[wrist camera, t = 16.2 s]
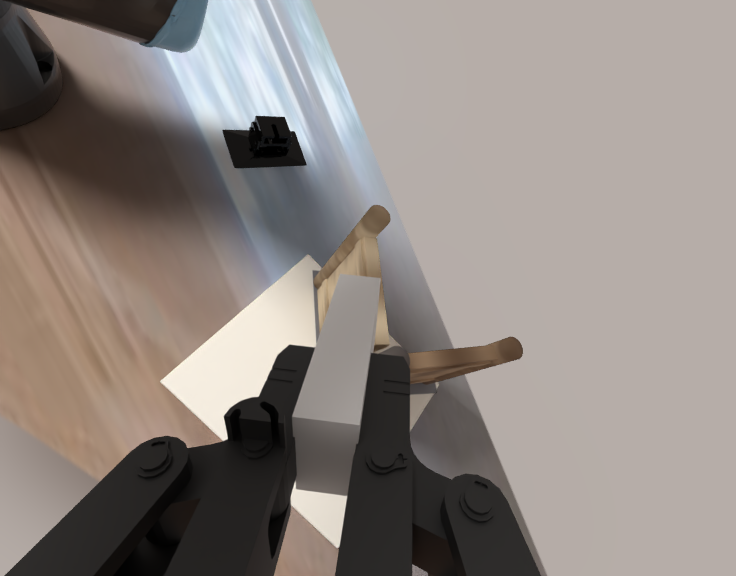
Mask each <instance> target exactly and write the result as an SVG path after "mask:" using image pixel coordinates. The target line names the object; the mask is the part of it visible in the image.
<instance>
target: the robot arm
mask: <svg viewBox="0 0 736 576" xmlns="http://www.w3.org/2000/svg"><path fill="white" fill-rule="evenodd" d="M207 4H208V0H0V130H3V129H8V128H12V127H16V126H19V125H23V124H25V123H28V122H30V121H32V120H35V119H36V118H38V117H40V116H41V115H43V114H44V113H46V112H47V111H48V110H49V109H50V108H51V107H52V106H53V105H54V104H55V103H56V101H57V100H58V98H59V96H60V93H61V90H62V84H63V79H62V73H61V69H60V66H59V62H58V59H57V56H56V53H55V51H54V49H53V47H52V45H51V43H50V41H49V40H48V38H47V37H46V35H45V34H44V33H43V31H42V30H41V28H40V27H39V26H38V24H37V23H36V22H35V20H34V19H33V17H32V16H31V15H30V13H29V12H28V11H27V9H26V8H29V9H32V10H35V11H39V12H42V13H45V14H49V15H52V16H55V17H58V18H62V19H65V20H68V21H72V22H75V23H78V24H81V25H84V26H88V27H91V28H94V29H97V30H100V31H103V32H106V33H109V34H113V35H116V36H119V37H122V38H125V39H128V40H131V41H134V42H138V43H139V44H140V45H143V46H145V47H158V48H162V49H166V50H170V51H174V52H179V53H182V52H187V51H189V50H191V49H192V48H193V47H194V46H195V45H196V43H197V41H198V39H199V36H200V33H201V30H202V26H203V22H204V18H205V14H206V9H207ZM25 7H26V8H25ZM380 281H381V278H375V277H366V276H356V275H347V274H340V275H339V278H338V281H337V284H336V287H335V290H334V293H333V296H332V299H331V302H330V305H329V308H328V311H327V314H326V317H325V320H324V323H323V326H322V329H321V332H320V335H319V338H318V341H317V344H316V347H307V346H298V345H290V344H289V345H288V346H287V347H286V348H285V349H284V350H282V351H281V352H280V353H279V354H278V355H277V357H276V359H275V362H274V364H273V366H272V370H270V373H269V375H268V377H267V381H265V384H264V386H263V388H262V390H261V392H260V395H259V397H251V398H248V399H245V400H241V401H239V402H238V403H236V404H235V405H233V406H232V407H230V409H229V410H228V411H227V413H226V414H225V415H224V421H225V426H226V431H227V437H228V439H227V440H224V441H222V442H219V443H215V444H211V445H205V446H199V447H192V448H187V447H186V444H185V443H184V442H183V441H181V440H180V439H179V438H176V437H170V436H163V437H157V438H153V439H151V440H148V441H146V442H144V443H142V444H140V445H139V446H138V447H136V448H135V449H134V450H132V451H131V452H130V453H129V454H128V455H127V456H126V457H125V458H124V459H123V460H122V461H121V462H120V463H119V464H118V465H117V466H116V467H115V468H114V469H113V470H112V471H111V472H110V473H109V474H108V475H107V476H105V477H104V478H103V479H102V480H101V481H100V482H99V483H98V484H97V485H96V486H95V487H94V488H93V489H92V490H91V491H90V492H89V493H88V494H87V495H86V496H85V497H84V498H83V499H82V500H81V501H80V502H79V503H78V504H77V505H76V506H75V507H74V508H73V509H72V510H71V511H70V512H69V513H68V514H67V515H66V516H65V517H64V518H63V519H62V520H61V521H60V522H59V523H58V524H57V525H56V526H55V527H54V528H53V529H52V530H51V531H50V532H48V534H46V535H45V537H43V538H42V539H41V540H40V541H39V542H38V543H37V544H36V545H35V546H34V547H33V548H32V549H31V550H30V551H29V552H28V553H27V554H26V555H25V556H24V557H23V558H22V559H21V560H20V561H19V562H18V563H17V564H16V565H15V566H14V567H13V568H12V569H11V570H10V571H9V572H8V573H7V574H6V575H5V576H274V572H275V569H276V565H277V561H278V557H279V554H280V550H281V546H282V542H283V539H284V535H285V531H286V527H287V523H288V520H289V516H290V510H291V494H292V490H293V487H294V483H295V480H296V489H298V490H305V491H313V492H320V493H327V494H335V495H342V496H347V501H346V507H345V514H344V521H343V527H342V534H341V540H340V547H339V554H338V560H337V567H336V573H335V576H412V564H413V565H415V566H417V567H419V568H421V569H422V570H424V571H426V572H428V576H541V575H540V573H539V571H538V568H537V566H536V564H535V562H534V559H533V557H532V555H531V553H530V550H529V548H528V546H527V544H526V542H525V539H524V537H523V535H522V533H521V530H520V528H519V526H518V524H517V521H516V519H515V517H514V515H513V513H512V510H511V508H510V506H509V504H508V501H507V500H506V498H505V497H504V495H503V493H502V492H501V490H500V489H499V488H498V487H497V486H495V485H494V484H493V483H492V482H491V481H490V480H488V479H485V478H483V477H481V476H479V475H472V474H463V475H460V476H457V477H455V478H454V479H453V480H451V479H449V478H446V477H444V476H442V475H440V474H438V473H435V472H434V471H432V470H430V469H428V468H427V467H425V466H424V465H423V464H422V463H421V462H420V461H419V460H418V459H417V457H416V456H415V455H414V453H413V450H412V448H411V444H410V368H409V366H408V364H407V362H406V360H405V358H404V357H403V356H394V355H386V354H377V353H373V351H374V343H375V335H376V324H377V314H378V303H379V292H380Z"/></svg>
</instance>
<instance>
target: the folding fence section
mask: <svg viewBox="0 0 736 576" xmlns="http://www.w3.org/2000/svg"><path fill="white" fill-rule="evenodd" d="M408 354H409V357H410V366H409V368H410V384H415V383H423V384H425V385H428V384H432V383H435V382H439V381H443V380H446V379H450V378H453V377H457V376H460V375H464V374H467V373H471V372H474V371H478V370H481V369H485V368H489V367H492V366H496V365H499V364H502V363H506V362H510V361H514V360H517V359H520V358H521V357H522V354H523V348H522V345H521V343H520V342H519V341H518V340H517V339H516V338H514V337H508V338H505V339H502V340H500V341H497V342H494V343H491V344H488V345H486V346H478V347H468V348H458V349H447V350H437V351H427V352H417V353H408Z"/></svg>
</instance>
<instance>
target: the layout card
mask: <svg viewBox="0 0 736 576" xmlns="http://www.w3.org/2000/svg"><path fill="white" fill-rule="evenodd" d="M321 269H322V267H321V266H320V265H319V264H318V263H317V262H316V261H315V260H314V259H313V258H312V257H311V256H310V255H309V254H308V255H307V256H305V257H304V258H303V259H302V260H301V261H300V262H298V263H297V264H296V265H295V266H294V267H293V268H291V269H290V270H289V271H288V272H287V273H286V274H284V275H283V276H282V277H281V278H280V279H279V280H277V281H276V282H275V283H274V284H273V285H272V286H270V287H269V288H268V289H267V290H266V291H265V292H263V293H262V294H261V295H260V296H259V297H258V298H256V299H255V300H254V301H253V302H252V303H251V304H250V305H248V306H247V307H246V308H245V309H244V310H243V311H241V312H240V313H239V314H238V315H237V316H236V317H234V318H233V319H232V320H231V321H230V322H229V323H227V324H226V325H225V326H224V327H223V328H222V329H220V330H219V331H218V332H217V333H216V334H215V335H213V336H212V337H211V338H210V339H209V340H208V341H206V342H205V343H204V344H203V345H202V346H201V347H199V348H198V349H197V350H196V351H195V352H194V353H192V354H191V355H190V356H189V357H188V358H187V359H186V360H184V361H183V362H182V363H181V364H180V365H179V366H177V367H176V368H175V369H174V370H173V371H172V372H170V373H169V374H168V375H167V376H166V377H165V378H163V379H162V380H161V381H160V383H161V384H163V385H164V386H165V387H166V388H167V389H168V390H169V391H170V392H171V393H172V394H173V395H174V396H175V397H176V398H177V399H178V400H180V401H181V402H182V403H183V404H184V405H185V406H186V407H187V408H188V409H189V410H190V411H191V412H192V413H193V414H194V415H195V416H197V417H198V418H199V419H200V420H201V421H202V422H203V423H204V424H205V425H206V426H207V427H208V428H209V429H210V430H211V431H212V432H214V433H215V434H216V435H217V436H218V437H219V438H220V439H221V440H222V441H224V440H227V439H228V437H227V431H226V426H225V421H224V415H225V414H226V413H227V411H228V410H229V409H230V407H232V406H233V405H235V404H236V403H238V402H239V401H241V400H245V399H248V398H251V397H259V395H260V392H261V390H262V388H263V386H264V384H265V381H267V377H268V375H269V373H270V370H272V366H273V364H274V362H275V359H276V357H277V355H278V354H279V353H280V352H281V351H282V350H284V349H285V348H286V347H287V346H288V345H289V344H290V345H298V346H307V347H316V344H317V341H318V338H319V335H320V331H319V314H318V296H317V290H318V289H317V288H316V287H315V286H314V283H313V280H314V278H315V277H316V275H317V274H318V273H319V271H320V270H321ZM389 342H390V345H389V346H388V347H386V348H384V349H380V350H378V351H376V352H374V353H377V354H379V353H381V352H383V351H385V350H387V349H389V348H391V347H393V346H400V345H399V344H398V343H397V342H396V341H395V340H394V339H393V338H392V337H391V336H390V335H389ZM400 347H401V346H400ZM438 386H439V383H438V382H435V383H432V384H428V385H425V384H423V383H415V384H410V431H411V430H412V428H413V426H414V425H415V423H416V421H417V420H418V418H419V417H420V415H421V413H422V412H423V410H424V409H425V407H426V405H427V404H428V402H429V401H430V399H431V397H432V396H433V394H434V393H437V390H436V389H437V388H438ZM346 501H347V496H342V495H335V494H327V493H320V492H313V491H305V490H298V489H296V480H295V483H294V487H293V490H292V494H291V506H292V507H293V508H294V509H295V510H296V511H297V512H299V513H300V514H301V515H302V516H303V517H304V518H305V519H306V520H307V521H308V522H309V523H310V524H311V525H312V526H313V527H314V528H316V529H317V530H318V531H319V532H320V533H321V534H322V535H323V536H324V537H325V538H326V539H327V540H328V541H329V542H330V543H331V544H333V545H334V546H335V547H336V548H338V547H339V546H340V540H341V534H342V527H343V521H344V514H345V507H346Z"/></svg>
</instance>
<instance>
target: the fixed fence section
mask: <svg viewBox="0 0 736 576" xmlns="http://www.w3.org/2000/svg"><path fill="white" fill-rule="evenodd" d="M389 222H390V214H389V212H388V211H387V210H386V209H385V208H384V207H382V206H380V205H374V206H372V207H371V208H370V209H369V210H368V211H367V213H366V214H365V215H364V216H363V218H362V219H361V220H360V221H359V223H358V224H357V225H356V226H355V228H354V229H353V230H352V231H351V233H350V234H349V235H348V236H347V238H346V239H345V240H344V241H343V243H342V244H341V245H340V246H339V248H338V249H337V250H336V251H335V253H334V254H333V255H332V256H331V258H330V259H329V260H328V261H327V263H326V264H325V265H324V266H323V268H322V269H321V270H320V271H319V273H318V274H317V275H316V277H315V278H314V280H313V283H314V286H315V287H316V288H317V289H318V290H317V296H318V314H319V331H320V332H321V329H322V326H323V323H324V320H325V317H326V314H327V311H328V308H329V305H330V302H331V299H332V296H333V293H334V290H335V287H336V284H337V281H338V278H339V275H340V274H347V275H356V276H366V277H375V278H381V281H380V292H379V303H378V314H377V324H376V335H375V343H374V351H373V353H374V352H376V351H378V350H380V349H384V348H386V347H388V346H389V345H390V342H389V334H388V326H387V318H386V309H385V301H384V293H383V285H382V277H381V268H380V260H379V252H378V244H377V238H376V237H377V236H378V235H379V233H380V232H381V231H382V230H383V229H384V228H385V227H386V226H387V225H388V224H389ZM379 354H386V355H394V356H403V357H404V358H405V360H406V362H407V364H408V366H410V357H409V354H408V353H407V351H406V350H405V349H404V348H402V347H400V346H393V347H391V348H389V349H387V350H385V351H383V352H381V353H379Z"/></svg>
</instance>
